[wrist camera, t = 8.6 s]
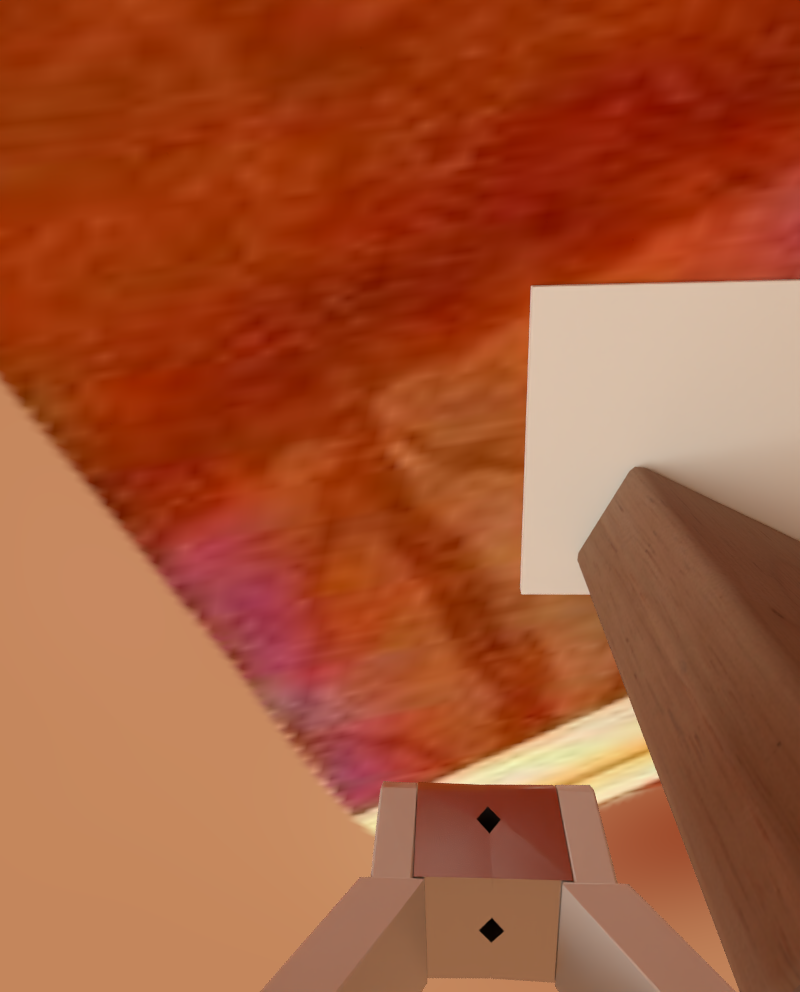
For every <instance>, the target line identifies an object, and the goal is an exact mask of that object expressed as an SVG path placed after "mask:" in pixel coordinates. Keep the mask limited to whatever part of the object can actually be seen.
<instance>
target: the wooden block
mask: <svg viewBox="0 0 800 992" xmlns="http://www.w3.org/2000/svg"><path fill="white" fill-rule="evenodd" d="M577 561H578V563H579V566H580V569H581V571H582V574H583V577H584V579H585V582H586V585H587V587H588V590H589V593H590V595H591V598H592V601H593V603H594V606H595V609H596V611H597V614H598V617H599V619H600V622H601V624H602V627H603V630H604V632H605V635H606V638H607V640H608V643H609V646H610V648H611V651H612V654H613V656H614V659H615V662H616V664H617V667H618V670H619V672H620V675H621V678H622V680H623V683H624V686H625V688H626V691H627V693H628V696H629V699H630V701H631V704H632V707H633V709H634V712H635V715H636V717H637V720H638V723H639V725H640V728H641V731H642V733H643V736H644V739H645V741H646V744H647V747H648V749H649V752H650V755H651V757H652V760H653V763H654V765H655V768H656V770H657V773H658V776H659V778H660V781H661V784H662V786H663V789H664V792H665V794H666V797H667V800H668V802H669V805H670V808H671V810H672V813H673V816H674V818H675V821H676V823H677V826H678V829H679V831H680V834H681V837H682V839H683V842H684V845H685V847H686V850H687V853H688V855H689V858H690V861H691V863H692V866H693V869H694V871H695V874H696V877H697V879H698V882H699V885H700V887H701V890H702V892H703V895H704V898H705V901H706V903H707V906H708V909H709V911H710V914H711V916H712V919H713V921H714V924H715V927H716V930H717V932H718V935H719V937H720V940H721V943H722V946H723V948H724V951H725V954H726V956H727V959H728V962H729V964H730V967H731V970H732V972H733V975H734V977H735V980H736V983H737V985H738V988H739V991H740V992H800V541H798V540H796V539H794V538H791V537H789V536H787V535H785V534H783V533H781V532H779V531H777V530H775V529H773V528H771V527H768V526H766V525H764V524H762V523H760V522H758V521H756V520H754V519H752V518H750V517H748V516H745V515H743V514H741V513H739V512H737V511H735V510H733V509H731V508H729V507H727V506H724V505H722V504H720V503H718V502H716V501H714V500H712V499H710V498H708V497H706V496H703V495H701V494H699V493H697V492H695V491H693V490H691V489H689V488H687V487H685V486H682V485H680V484H678V483H676V482H674V481H672V480H670V479H668V478H666V477H664V476H661V475H659V474H657V473H655V472H653V471H651V470H649V469H647V468H645V467H634V468H633V469H631V470H630V471H629V473H628V474H627V476H626V477H625V479H624V481H623V482H622V484H621V485H620V487H619V489H618V490H617V492H616V493H615V495H614V497H613V498H612V500H611V501H610V503H609V505H608V506H607V508H606V509H605V511H604V513H603V514H602V516H601V517H600V519H599V521H598V522H597V524H596V525H595V527H594V529H593V530H592V532H591V533H590V535H589V537H588V538H587V540H586V541H585V543H584V545H583V546H582V548H581V549H580V551H579V553H578V558H577Z"/></svg>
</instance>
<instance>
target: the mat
mask: <svg viewBox="0 0 800 992" xmlns="http://www.w3.org/2000/svg"><path fill="white" fill-rule="evenodd" d="M634 467H645V468H647V469H649V470H651V471H653V472H655V473H657V474H659V475H661V476H664V477H666V478H668V479H670V480H672V481H674V482H676V483H678V484H680V485H682V486H685V487H687V488H689V489H691V490H693V491H695V492H697V493H699V494H701V495H703V496H706V497H708V498H710V499H712V500H714V501H716V502H718V503H720V504H722V505H724V506H727V507H729V508H731V509H733V510H735V511H737V512H739V513H741V514H743V515H745V516H748V517H750V518H752V519H754V520H756V521H758V522H760V523H762V524H764V525H766V526H768V527H771V528H773V529H775V530H777V531H779V532H781V533H783V534H785V535H787V536H789V537H791V538H794V539H796V540H798V541H800V279H791V280H749V281H706V282H663V283H621V284H578V285H536V286H531V298H530V326H529V354H528V382H527V410H526V439H525V467H524V495H523V523H522V551H521V579H520V590H521V594H590V593H589V590H588V587H587V585H586V582H585V579H584V577H583V574H582V571H581V569H580V566H579V563H578V561H577V558H578V553H579V551H580V549H581V548H582V546H583V545H584V543H585V541H586V540H587V538H588V537H589V535H590V533H591V532H592V530H593V529H594V527H595V525H596V524H597V522H598V521H599V519H600V517H601V516H602V514H603V513H604V511H605V509H606V508H607V506H608V505H609V503H610V501H611V500H612V498H613V497H614V495H615V493H616V492H617V490H618V489H619V487H620V485H621V484H622V482H623V481H624V479H625V477H626V476H627V474H628V473H629V471H630V470H631V469H633V468H634Z"/></svg>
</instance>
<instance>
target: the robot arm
mask: <svg viewBox="0 0 800 992" xmlns="http://www.w3.org/2000/svg"><path fill="white" fill-rule="evenodd" d="M427 978H493V979H508V980H525V981H539V982H555V986H556V988H557V990H558V991H559V992H735V991H734V990H733V989H732V988H731V987H730V986H729V984H727V983H726V981H724V979H723V978H722V977H721V976H719V974H718V973H717V972H715V970H714V969H712V967H711V966H710V965H709V964H707V962H706V961H705V960H704V959H703V958H702V957H701V956H700V955H699V954H698V953H697V952H696V951H695V950H694V949H693V948H692V947H691V946H690V945H688V944H687V942H685V940H684V939H683V938H682V937H681V936H680V935H679V934H678V933H677V932H676V931H675V930H674V929H673V928H672V927H671V926H670V925H669V924H668V923H667V922H666V921H665V920H664V919H663V918H662V917H661V916H660V915H659V914H658V913H657V912H656V911H655V910H654V909H653V908H652V907H651V906H650V905H649V904H648V903H647V902H646V901H645V900H644V899H643V898H642V897H641V896H640V895H639V894H638V893H637V892H636V891H635V890H634V889H633V888H632V887H631V886H630V885H629V884H618V883H617V880H616V876H615V872H614V868H613V864H612V860H611V856H610V852H609V848H608V844H607V840H606V836H605V832H604V829H603V824H602V820H601V816H600V812H599V808H598V804H597V800H596V796H595V792H594V790H593V789H592V787H591V786H590V785H555V786H553V785H473V784H449V783H426V782H418V783H406V782H386V781H383V784H382V787H381V790H380V798H379V807H378V816H377V825H376V834H375V843H374V852H373V861H372V871H371V877H360V878H359V879H358V880H357V881H356V882H355V884H354V885H353V886H352V887H351V888H350V889H349V891H348V892H347V893H346V894H345V895H344V896H343V897H342V899H341V900H340V901H339V902H338V903H337V904H336V906H335V907H334V908H333V909H332V910H331V911H330V912H329V913H328V915H327V916H326V917H325V918H324V919H323V920H322V921H321V923H320V924H319V925H318V926H317V927H316V928H315V929H314V931H313V932H312V933H311V934H310V935H309V936H308V937H307V939H306V940H305V941H304V942H303V943H302V944H301V945H300V947H299V948H298V949H297V950H296V951H295V952H294V953H293V955H292V956H291V957H290V958H289V959H288V960H287V961H286V963H285V964H284V965H283V966H282V967H281V969H280V970H279V971H278V972H277V973H276V974H275V976H273V978H272V979H271V980H270V981H269V982H268V983H267V984H266V986H265V987H264V988H263V989H262V990H261V991H260V992H422V991H423V989H424V987H425V985H426V984H427Z"/></svg>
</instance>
